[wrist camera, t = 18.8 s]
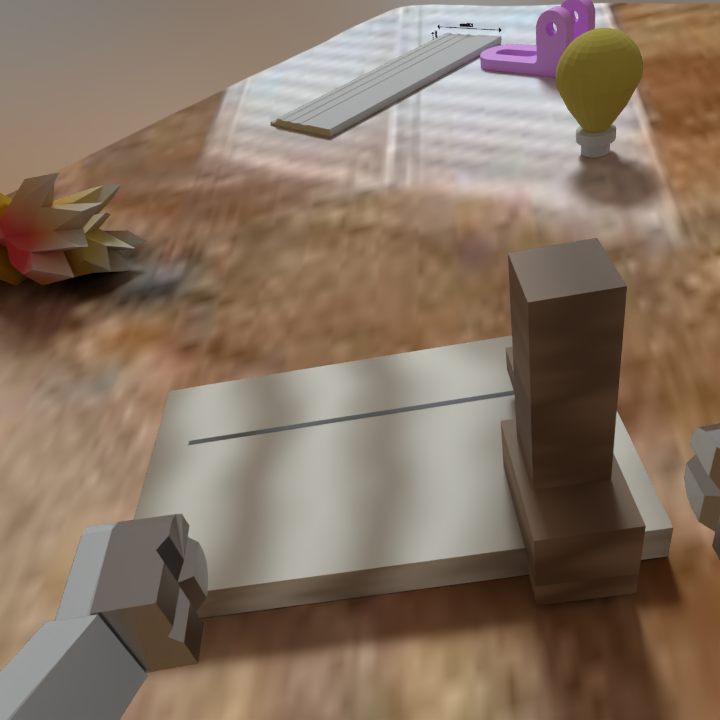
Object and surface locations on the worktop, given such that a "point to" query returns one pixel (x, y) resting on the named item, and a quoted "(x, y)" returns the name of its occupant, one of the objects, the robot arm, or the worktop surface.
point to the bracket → (543, 41)
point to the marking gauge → (569, 424)
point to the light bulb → (598, 84)
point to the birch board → (355, 479)
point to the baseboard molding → (386, 84)
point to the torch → (58, 234)
